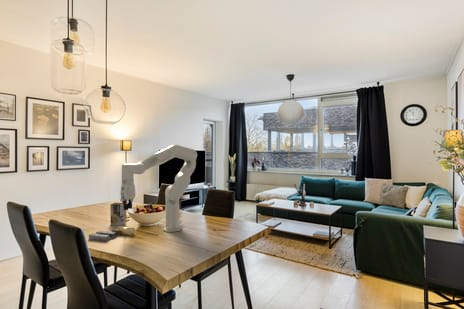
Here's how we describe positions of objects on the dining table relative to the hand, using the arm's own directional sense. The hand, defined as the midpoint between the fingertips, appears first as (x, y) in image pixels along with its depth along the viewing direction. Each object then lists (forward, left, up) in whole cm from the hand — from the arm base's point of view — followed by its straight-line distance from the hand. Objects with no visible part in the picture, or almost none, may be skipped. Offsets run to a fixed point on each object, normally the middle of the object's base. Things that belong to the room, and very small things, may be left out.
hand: (127, 208), depth 173 cm
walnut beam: (0, -7, -17) cm, 18 cm away
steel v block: (+11, -11, -17) cm, 23 cm away
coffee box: (-18, -23, -17) cm, 34 cm away
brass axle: (0, -2, -17) cm, 17 cm away
